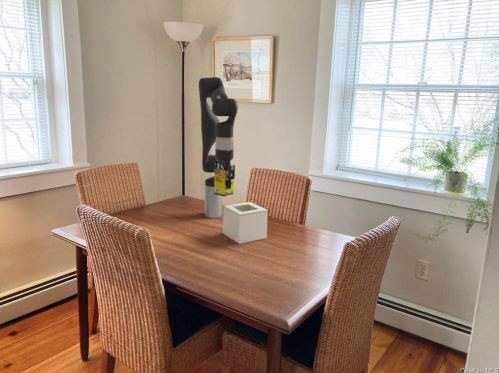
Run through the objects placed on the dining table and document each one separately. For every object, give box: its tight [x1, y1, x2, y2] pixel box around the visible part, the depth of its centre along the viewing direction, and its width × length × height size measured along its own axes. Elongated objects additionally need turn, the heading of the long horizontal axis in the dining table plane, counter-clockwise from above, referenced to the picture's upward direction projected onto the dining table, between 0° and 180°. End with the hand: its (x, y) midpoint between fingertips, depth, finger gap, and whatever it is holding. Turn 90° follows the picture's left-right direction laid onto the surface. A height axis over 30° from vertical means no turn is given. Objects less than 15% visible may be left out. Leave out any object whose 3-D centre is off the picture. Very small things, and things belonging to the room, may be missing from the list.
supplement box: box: [213, 169, 234, 197], centre depth 174 cm, size 6×6×11 cm
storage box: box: [222, 201, 269, 245], centre depth 194 cm, size 15×15×14 cm
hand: (223, 186), depth 174 cm, fingers closed on supplement box, 7 cm apart
